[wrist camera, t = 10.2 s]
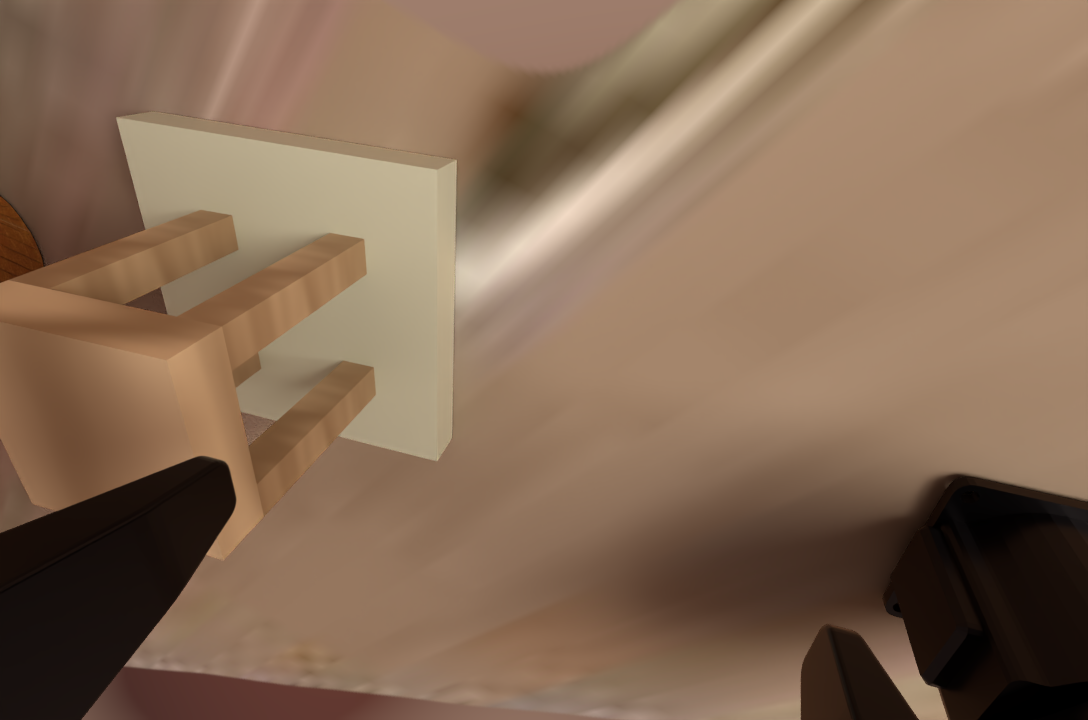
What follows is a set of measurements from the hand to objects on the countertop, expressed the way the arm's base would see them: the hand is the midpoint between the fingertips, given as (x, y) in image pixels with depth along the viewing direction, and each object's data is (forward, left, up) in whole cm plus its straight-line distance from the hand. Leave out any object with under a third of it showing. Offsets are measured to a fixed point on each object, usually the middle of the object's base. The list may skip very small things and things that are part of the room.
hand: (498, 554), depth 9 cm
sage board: (+11, +3, -12) cm, 17 cm away
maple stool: (+11, +3, -10) cm, 15 cm away
